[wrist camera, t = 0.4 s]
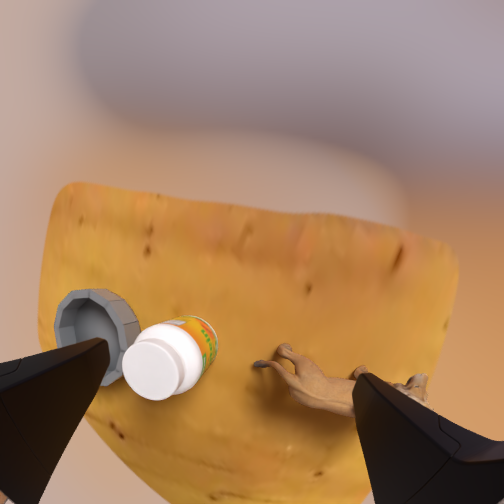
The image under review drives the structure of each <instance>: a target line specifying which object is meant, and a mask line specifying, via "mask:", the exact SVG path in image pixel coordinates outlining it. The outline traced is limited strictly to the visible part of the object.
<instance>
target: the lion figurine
mask: <svg viewBox="0 0 504 504" xmlns="http://www.w3.org/2000/svg"><path fill="white" fill-rule="evenodd" d="M277 353H278V354H279V355H280V356H281V357H283V358H285V359H288V360H290V361H291V362H292V363H293V364H294V365H295V375H294V374H290V373H289V372H287V371H286V370H285V369H284V368H283V367H282V366H281V365H280V364H278V363H277V362H275V361H264V360H260V361H256V362H254V366H255V367H262V368H266V367H270V366H271V367H274V368H275V369H276V370H277V372H278V373H279V374H280V375H281V377H282V378H283V379H284V380H285V381H286V382H287V384H288V385H289V392H290V395H291V397H292V398H293V399H294V400H296V401H297V402H299V403H300V404H302V405H305V406H308V407H310V408H317V409H324V410H327V411H330V412H333V413H336V414H339V415H343V416H348V417H353V418H355V413H354V406H353V400H352V390H353V388H354V385H355V383H356V381H353V380H347V379H343V378H327V377H325V376H324V374H323V372H322V370H321V369H320V368H319V367H318V366H317V365H316V364H315V363H313V362H312V361H311V360H310V359H308V358H306V357H304V356H302V355H299V354H296V353H294V352H292V348H291V346H290V345H289V344H285V343H284V344H281V345H280V346H279V347H278V349H277ZM360 373H368V371H367V368H366V367H365V366H364V365H363V366H360V367H358V368H357V369H356V370H355V373H354V376H355V378H356V379H357V378H358V376H359V374H360ZM427 381H428V376H427V374H425V373H423V374H416V375H414V376H412V377H410V378H409V380H408V381H407V383H406V385H403V384H401V383H396V384H392V383H391V382H386V383H388V384H389V385H391V386H393V387H394V388H396V389H397V390H399V391H401V392H402V393H404V394H406V395H407V396H409V397H410V398H412V399H414V400H415V401H417V402H419V403H420V404H422V405H424V406H425V407H427V408H429V409H430V410H432V411H433V410H434V409H433V408H431V406H430V405H429V403H428V402H427V401H426V400H427V396H428V393H427V391H426V389H425V388H426V384H427Z"/></svg>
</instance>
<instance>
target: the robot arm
mask: <svg viewBox="0 0 504 504" xmlns="http://www.w3.org/2000/svg"><path fill="white" fill-rule="evenodd" d="M110 361H111V357H110V351H109V344H108V341H107V340H106V339H103V338H99V337H96V338H92V339H89V340H85V341H82V342H79V343H75V344H72V345H68V346H65V347H61V348H58V349H54V350H50V351H47V352H43V353H39V354H36V355H32V356H28V357H24V358H23V359H21V358H20V359H16V360H12V361H8V362H3V363H0V504H5V503H6V501H7V500H8V499H9V500H10V501H11V502H12V503H14V504H38V503H39V501H40V499H41V497H42V495H43V493H44V490H45V488H46V486H47V484H48V482H49V480H50V478H51V475H52V473H53V471H54V469H55V467H56V465H57V463H58V462H59V460H60V458H61V456H62V454H63V452H64V450H65V448H66V446H67V445H68V443H69V441H70V439H71V437H72V435H73V433H74V432H75V430H76V428H77V426H78V425H79V423H80V421H81V419H82V418H83V416H84V414H85V412H86V411H87V409H88V407H89V405H90V404H91V402H92V400H93V399H94V397H95V395H96V393H97V391H98V389H99V387H100V385H101V382H102V380H103V378H104V376H105V373H106V371H107V369H108V367H109V365H110ZM352 400H353V406H354V413H355V420H356V426H357V431H358V435H359V439H360V443H361V447H362V451H363V454H364V458H365V462H366V466H367V470H368V475H369V479H370V483H371V487H372V492H373V496H374V501H375V504H504V441H494V440H491V439H488V438H486V437H483V436H481V435H479V434H476V433H474V432H472V431H470V430H467V429H465V428H463V427H461V426H459V425H457V424H455V423H453V422H451V421H449V420H448V419H446V418H444V417H442V416H441V415H438V414H437V413H435V412H434V411H432V410H430V409H429V408H427V407H425V406H424V405H422V404H420V403H419V402H417V401H415V400H414V399H412V398H410V397H409V396H407V395H406V394H404V393H402V392H401V391H399V390H397V389H396V388H394V387H393V386H391V385H389V384H388V383H386V382H385V381H383V380H381V379H380V378H378V377H377V376H375V375H374V374H372V373H360V374H359V376H358V378H357V380H356V383H355V385H354V388H353V390H352Z"/></svg>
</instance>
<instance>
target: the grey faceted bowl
mask: <svg viewBox="0 0 504 504" xmlns="http://www.w3.org/2000/svg"><path fill="white" fill-rule="evenodd" d="M54 331H55V337H56V342H57V348H61V347H65V346H68V345H72V344H75V343H79V342H82V341H85V340H89V339H92V338H96V337H99V338H103V339H106V340H107V341H108V344H109V351H110V357H111V361H110V365H109V367H108V369H107V371H106V373H105V376H104V378H103V380H102V382H101V385H100V386H108V385H110V384H111V383H113V382H115V381H117V380H118V379H120V378H122V377H123V376H124V374H123V369H122V361H123V356H124V354H125V352H126V351H127V349H128V348H129V347H130V346H132V345H133V344H134V342H135V340H136V338H137V337H138V335H139V334H140V333H141V329H140V325H139V322H138V320H137V318H136V315H135V314H134V312H133V310H132V309H131V307H130V306H129V305H128V304H127V303H126V301H125V300H124V299H122V298H121V297H120V296H118V295H117V294H115V293H113V292H110V291H109V290H107V289H84V290H75V291H71V292H70V293H69V294H68V295H67V296H66V297H65V298H64V299H63V300H62V302H61V303H60V304H59V305H58V309H57V313H56V318H55V323H54Z"/></svg>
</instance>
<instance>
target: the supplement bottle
mask: <svg viewBox="0 0 504 504" xmlns="http://www.w3.org/2000/svg"><path fill="white" fill-rule="evenodd" d="M217 351H218V340H217V336H216V334H215V332H214V330H213V328H212V327H211V326H210V325H209V324H208V323H207V322H206V321H204V320H203V319H201V318H199V317H195V316H181V317H177V318H174V319H171V320H168V321H165V322H162V323H159V324H156V325H153V326H151V327H149V328H147V329H145V330H144V331H142V332H141V333H140V334H139V335H138V337H137V338H136V340H135V342H134V344H133V345H132V346H130V347H129V348H128V349H127V351H126V352H125V354H124V356H123V361H122V369H123V374H124V377H125V379H126V381H127V383H128V384H129V386H130V387H131V388H132V389H133V390H134V391H135V392H136V393H137V394H139V395H140V396H142V397H144V398H147V399H150V400H163V399H166V398H168V397H170V396H171V395H176V394H181V393H183V392H186V391H187V390H189V389H191V388H192V387H193V386H194V385H195V384H196V383H197V381H198V380H199V379H200V377H201V376H202V375H203V373H204V372H205V371H206V369H207V368H208V367H209V366H210V364H211V363H212V362H213V360H214V359H215V357H216V354H217Z"/></svg>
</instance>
